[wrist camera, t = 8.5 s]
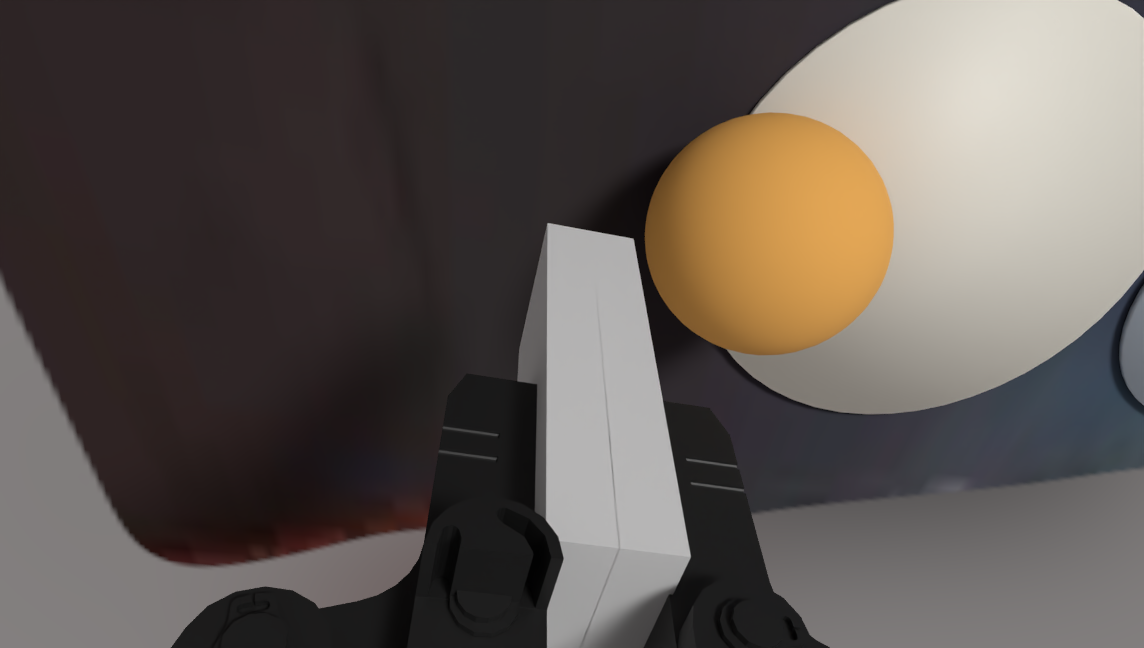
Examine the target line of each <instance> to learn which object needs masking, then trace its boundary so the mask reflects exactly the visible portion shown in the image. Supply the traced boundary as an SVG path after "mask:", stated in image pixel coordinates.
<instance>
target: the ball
mask: <svg viewBox="0 0 1144 648" xmlns="http://www.w3.org/2000/svg"><path fill="white" fill-rule="evenodd" d="M893 239H894V220H893V212H892V206H891V202H890V199H889V195H888V192H887V189H886V187H885V184H884V182H883V180H882V178H881V176H880V174H879V173H878V171H877V169H876V168H875V166H874V164H873V163H872V161H871V160H870V159H869V158H868V156H867V155H866V154H865V153H864V152H863V151H862V150H861V149H860V148H859V146H858V145H856V144H855V143H854V142H853V141H851V140H850V139H849V138H848V137H846V136H845V135H844V134H842V133H841V132H840V131H838V130H836V129H834V128H832V127H830V126H828V125H826V124H824V123H822V122H820V121H817V120H814V119H811V118H808V117H805V116H800V115H794V114H788V113H773V112H768V113H758V114H751V115H746V116H742V117H738V118H734V119H731V120H728V121H726V122H724V123H721V124H719V125H717V126H715V127H713V128H711V129H709V130H708V131H706V132H704V133H702V134H701V135H699V136H698V137H697V138H695V139H694V140H693V141H692V142H690V143H689V144H688V145H687V146H686V147H684V149H683V150H682V151H681V152H680V153H679V154H678V155H677V156H676V157H675V158H674V159H673V160H672V162H671V163H670V164H669V166H668V167H667V169H666V170H665V172H664V173H663V175H662V176H661V178H660V180H659V182H658V184H657V186H656V188H655V190H654V193H653V195H652V198H651V202H650V205H649V209H648V213H647V218H646V225H645V247H646V257H647V262H648V266H649V269H650V273H651V276H652V279H653V281H654V284H655V286H656V288H657V290H658V292H659V294H660V296H661V297H662V299H663V300H664V302H665V303H666V305H667V306H668V308H669V309H670V310H671V311H672V313H673V314H674V315H675V316H676V317H677V318H678V319H679V320H680V321H681V322H682V323H683V324H684V325H685V326H686V327H688V328H689V329H690V330H691V331H693V332H694V333H695V334H697V335H699V336H700V337H702V338H704V339H705V340H707V341H709V342H710V343H713V344H715V345H717V346H720V347H722V348H725V349H728V350H732V351H736V352H740V353H744V354H752V355H781V354H787V353H793V352H797V351H800V350H803V349H807V348H810V347H813V346H816V345H818V344H820V343H822V342H824V341H826V340H828V339H830V338H831V337H833V336H835V335H836V334H838V333H839V332H841V331H842V330H843V329H845V328H846V327H847V326H849V325H850V324H851V323H852V322H853V321H854V320H855V319H856V318H857V317H858V316H859V315H860V314H861V313H862V312H863V311H864V310H865V309H866V307H867V306H868V305H869V303H870V302H871V300H872V299H873V297H874V296H875V294H876V293H877V291H878V290H879V288H880V286H881V284H882V282H883V280H884V277H885V275H886V272H887V269H888V266H889V262H890V258H891V254H892V248H893Z"/></svg>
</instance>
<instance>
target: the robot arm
mask: <svg viewBox="0 0 1144 648" xmlns="http://www.w3.org/2000/svg"><path fill="white" fill-rule="evenodd" d="M743 489H744V486H743V482H742V479H741V475H740V471H739V470H738V469H737V460H736V457H735V453H734V449H733V446H732V442H731V438H730V435H729V434H728V432H727V431H726V430H725V428H724V427H723V426H722V424H721V423H720V422H719V420H718V419H717V418H716V416H715V415H714V414H713V412H712V411H711V410H710V408H705V407H699V406H692V405H685V404H679V403H672V402H666V401H663V399H662V394H661V388H660V383H659V377H658V372H657V366H656V361H655V355H654V350H653V344H652V338H651V333H650V327H649V322H648V316H647V311H646V305H645V300H644V294H643V289H642V283H641V277H640V272H639V266H638V261H637V255H636V250H635V244H634V239H632V238H627V237H621V236H616V235H610V234H605V233H599V232H594V231H588V230H583V229H577V228H572V227H566V226H561V225H555V224H550V223H547V228H546V232H545V237H544V241H543V246H542V250H541V255H540V259H539V263H538V268H537V272H536V277H535V281H534V286H533V290H532V295H531V299H530V304H529V308H528V313H527V317H526V321H525V326H524V330H523V335H522V339H521V344H520V348H519V363H518V381H512V380H506V379H499V378H493V377H486V376H479V375H473V374H466V375H465V377H464V378H463V379H462V380H461V381H460V382H459V384H458V385H457V386H456V387H455V388H454V390H453V391H452V392H451V393H450V394H449V395H448V399H447V405H446V411H445V418H444V424H443V430H442V436H441V442H440V448H439V454H438V460H437V466H436V472H435V478H434V485H433V491H432V497H431V503H430V509H429V515H428V521H427V527H426V533H425V540H424V545H423V548H422V551H421V554H420V557H419V559H418V561H417V562H416V564H415V565H414V567H413V568H412V570H411V571H410V573H409V574H408V575H407V576H406V577H404V578H403V579H402V580H401V581H400V582H399V583H398V584H397V585H395V586H394V587H392V588H390V589H388V590H386V591H385V592H383V593H381V594H379V595H377V596H374V597H370V598H367V599H364V600H360V601H357V602H351V603H346V604H341V605H336V606H331V607H326V608H320V609H319V608H318V607H317V606H316V604H315V603H314V602H312V601H310V600H308V599H307V598H305V597H303V596H301V595H299V594H298V593H296V592H294V591H292V590H285V589H278V588H271V587H260V588H254V589H249V590H243V591H238V592H235V593H232V594H230V595H228V596H227V597H225V598H223V599H221V600H219V601H217V602H215V603H213V604H211V605H209V606H207V607H206V608H205V609H204V610H203V611H202V612H201V613H200V614H199V615H198V616H197V617H196V618H195V619H194V620H193V621H192V622H191V623H190V624H189V625H188V626H187V627H186V628H185V629H184V631H183V632H182V633H181V635H180V636H179V638H178V639H177V640H176V642H175V643H174V645H173V646H172V647H171V648H829V647H828V646H826V645H824V644H822V643H820V642H818V641H817V640H815V639H814V638H813V637H811V636H810V635H809V633H808V631H807V629H806V627H805V625H804V623H803V621H802V618H801V617H800V616H799V614H798V613H797V612H796V611H795V610H794V609H793V608H792V607H791V606H790V605H789V604H788V603H787V601H786V600H785V599H784V598H782V597H781V596H779V595H777V594H776V593H774V592H773V589H772V587H771V584H770V582H769V578H768V574H767V571H766V567H765V563H764V559H763V556H762V552H761V549H760V545H759V541H758V538H757V534H756V530H755V526H754V523H753V519H752V515H751V512H750V508H749V504H748V501H747V497H746V494H744V493H743Z"/></svg>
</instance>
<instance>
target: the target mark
mask: <svg viewBox="0 0 1144 648" xmlns="http://www.w3.org/2000/svg"><path fill="white" fill-rule="evenodd" d="M768 112H773V113H788V114H794V115H800V116H805V117H808V118H811V119H814V120H817V121H820V122H822V123H824V124H826V125H828V126H830V127H832V128H834V129H836V130H838V131H840V132H841V133H842V134H844V135H845V136H846V137H848V138H849V139H850V140H851V141H853V142H854V143H855V144H856V145H858V146H859V148H860V149H861V150H862V151H863V152H864V153H865V154H866V155H867V156H868V158H869V159H870V160H871V161H872V163H873V164H874V166H875V168H876V169H877V171H878V173H879V174H880V176H881V178H882V180H883V182H884V184H885V187H886V189H887V192H888V195H889V199H890V202H891V206H892V212H893V220H894V239H893V248H892V254H891V258H890V262H889V266H888V269H887V272H886V275H885V277H884V280H883V282H882V284H881V286H880V288H879V290H878V291H877V293H876V294H875V296H874V297H873V299H872V300H871V302H870V303H869V305H868V306H867V307H866V309H865V310H864V311H863V312H862V313H861V314H860V315H859V316H858V317H857V318H856V319H855V320H854V321H853V322H852V323H851V324H850V325H849V326H847V327H846V328H845V329H843V330H842V331H841V332H839V333H838V334H836V335H835V336H833V337H831V338H830V339H828V340H826V341H824V342H822V343H820V344H818V345H816V346H813V347H810V348H807V349H803V350H800V351H797V352H793V353H787V354H781V355H752V354H744V353H740V352H736V351H732V350H728V349H727V351H728V352H729V353H730V354H731V356H732V357H733V358H734V359H735V361H736V362H737V363H738V364H739V365H740V366H742V367H743V368H744V369H745V370H746V371H747V372H748V373H749V374H750V375H751V376H752V377H754V378H755V379H757V380H758V381H760V382H761V383H763V384H764V385H766V386H767V387H769V388H770V389H772V390H773V391H776V392H778V393H780V394H782V395H784V396H786V397H788V398H790V399H792V400H795V401H798V402H801V403H804V404H807V405H810V406H813V407H816V408H821V409H827V410H832V411H837V412H844V413H856V414H893V413H902V412H910V411H918V410H923V409H928V408H933V407H937V406H942V405H946V404H949V403H953V402H956V401H959V400H963V399H966V398H969V397H972V396H975V395H977V394H980V393H983V392H985V391H988V390H990V389H993V388H995V387H998V386H1000V385H1002V384H1004V383H1006V382H1008V381H1010V380H1012V379H1014V378H1016V377H1018V376H1020V375H1022V374H1024V373H1026V372H1028V371H1029V370H1031V369H1033V368H1034V367H1036V366H1038V365H1039V364H1041V363H1043V362H1044V361H1046V360H1048V359H1049V358H1051V357H1052V356H1054V355H1055V354H1057V353H1058V352H1059V351H1061V350H1062V349H1064V348H1065V347H1066V346H1068V345H1069V344H1071V343H1072V342H1073V341H1075V340H1076V339H1077V338H1078V337H1080V336H1081V335H1082V334H1083V333H1084V332H1086V331H1087V330H1088V329H1089V328H1090V327H1091V326H1093V325H1094V324H1095V323H1096V322H1097V321H1098V320H1100V319H1101V318H1102V317H1103V316H1104V315H1105V314H1106V313H1107V312H1108V310H1109V309H1110V308H1111V307H1112V306H1113V305H1114V304H1115V303H1116V302H1117V301H1118V300H1119V299H1120V298H1121V297H1122V296H1123V295H1124V294H1125V292H1126V291H1127V290H1128V289H1129V288H1130V286H1131V285H1132V284H1133V283H1134V281H1135V280H1136V279H1137V278H1138V277H1139V275H1140V274H1141V273H1142V272H1143V270H1144V18H1142V17H1141V16H1140V15H1139V14H1138V13H1137V12H1136V11H1134V10H1133V9H1132V8H1130V7H1128V6H1127V5H1125V4H1123V3H1121V2H1119V1H1118V0H895V1H893V2H890V3H888V4H885V5H883V6H881V7H879V8H878V9H876V10H874V11H872V12H870V13H868V14H866V15H865V16H863V17H861V18H859V19H857V20H855V21H853V22H851V23H850V24H848V25H846V26H845V27H844V28H842V29H841V30H839V31H838V32H836V33H835V34H833V35H832V36H830V37H829V38H828V39H826V40H825V41H823V42H822V43H820V44H819V45H817V46H816V47H815V48H813V49H812V50H811V51H810V52H809V53H808V54H806V55H805V56H804V57H803V58H802V59H801V60H800V61H798V62H797V63H796V64H795V65H794V66H793V67H791V68H790V69H789V70H788V71H787V72H786V73H785V74H784V75H783V76H782V77H781V78H780V79H779V80H778V81H777V82H776V83H775V84H774V85H773V87H772V88H771V89H770V90H769V91H768V92H767V93H766V94H765V95H764V96H763V97H762V98H761V99H760V101H759V102H758V103H757V105H756V106H755V107H754V109H753V110H752V111H751V113H750V114H749V115H751V114H758V113H768Z"/></svg>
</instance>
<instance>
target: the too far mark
mask: <svg viewBox="0 0 1144 648" xmlns="http://www.w3.org/2000/svg"><path fill="white" fill-rule="evenodd" d="M1119 362H1120V368H1121V374H1122V376H1123V378H1124V381H1125V383H1126V386H1127V387H1128V389H1129V390H1130V391H1131V393H1132V394H1133V396H1134V397H1135V398H1136V399H1137V400H1138V401H1139V402H1140V403H1141V404H1143V405H1144V284H1143V286H1142V287H1141V289H1140V290H1139V292H1138V294H1137V296H1136V298H1135V300H1134V302H1133V304H1132V306H1131V308H1130V310H1129V312H1128V315H1127V318H1126V320H1125V323H1124V326H1123V330H1122V334H1121V339H1120V345H1119Z"/></svg>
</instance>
